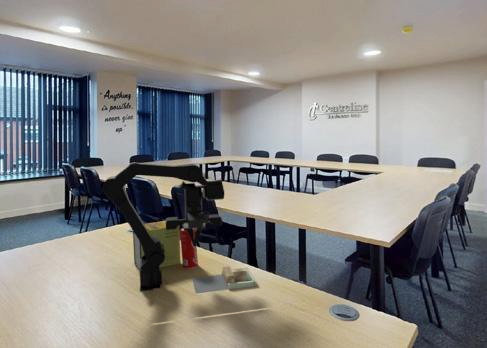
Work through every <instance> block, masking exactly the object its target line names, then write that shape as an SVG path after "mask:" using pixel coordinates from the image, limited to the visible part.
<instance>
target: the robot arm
mask: <svg viewBox="0 0 487 348" xmlns="http://www.w3.org/2000/svg"><path fill="white" fill-rule="evenodd" d="M136 176H146V177H147V176H148V177H161V178H173V179H178V180H181V181H182V182H181V183H180V184H179V185H178V186H177V187H178V188H179V190H184V216H185V217H184V218H183V219H179V218H178V216H171V217H170V216H169V217H166V218H165V221H166V229H168V230H169V229H176V228H177V227H178V225H179V226H182V228H183V229H184V230H185V231H187V232H188V233H189V235H190V238H191V241H192V243H193V246H196V245H197V244H198V241H199V238H200V237H199V236H200V235H201V234H202V231H203V230H205V229H206V224H210V225H212V226H213V227H219V226H220V227H221V226H223V217H222V216H221V215H220V214H218V213H217V214H214V213H213V214H210V212H209V211H203V199H204V198H205V200H206V201H220V200H221V201H222V200H224V199H225V190H224V189H225V188H224V183H223V180H222V179H216V180H207V179H206V178H205V176H203V170H202V168H201V167H200V166H199V165H196V164H194V163H185V164H179V165H167V164H166V165H165V164H154V163H143V162H142V163H141V162H140V163H139V162H137V161H136V162H131V163H130V164H128V166H127V167H126V168H124V169H123V170H121V171H120V172H119V173H118V174H116V175H115V176H110V177H108V178H106V179H105V181H104V183H103V184H102V187H101V189H102V192H103V193H104V195H105V196H106V197H107V198H108V200H109V201H111V202H112V204H114V205H115V206H116V207H117V208H118V209H119V211H120V213H121V214H122V216H123V217H124V219H125V220H126V222H127V223H128V225H129V227H130V229H131V230H132V232H133V231H134V233H135V235H136V236H137V238H138V239H139V241H140V243H141V245H142V248H143V251H144V255H143V256H142V257H141V258H140V269H139V291H148V290H149V291H150V290H154V289H160V288H161V285H163V279H162V278H163V273H162V268H160V264H162V263H163V261H164V259H165V254H164V252H165V248H164V245H163V244H162V243H161V242H160V240H159V237H158V236H157V237H156V238H154V237H152V236H151V235H150V233H149V232H148V230H147V228H146V227H145V225H144V224H145V223H144V222H143V219H141V217H140V216H139V213H138V212H137V210H136V209H135V207H134V206H133V204H132V203H131V200H130V199H129V196H128V193H127V189H126V187H125V186H126V185H127V184H128V183H130V182H131V180H133V179H134V178H135V177H136ZM186 182H187V183H186ZM188 182H189V183H188ZM196 183H198V184H200V185H196ZM202 197H203V198H202ZM193 228H194V230H195V236H194V235H193Z"/></svg>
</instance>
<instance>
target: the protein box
mask: <svg viewBox="0 0 487 348" xmlns="http://www.w3.org/2000/svg"><path fill="white" fill-rule="evenodd" d="M144 225H145V227H146V228H147V230H148V232H149V233H150V235H151V236H152V237H154V238H156V237H157V236H158V237H159V240H160V242H161V243H162V244H163V245H164V248H165V252H164V254H165V259H164V261H163V263H162V264H160V269H162V268H164V267H169V266H173V265H181V238H180V232H181V228H180V225H178V227H177V228H176V229H169V230H168V229H166V220H162V221H156V222H155V221H154V222H149V223H144ZM132 239H133V259H134V260H133V262H134V265H135V266H136V267H137V269H138V270H140V258H141V257H142V256H143V255H144V251H143V248H142V245H141V243H140V241H139V239H138V238H137V236H136V235H135V233H134V231H133V230H132Z"/></svg>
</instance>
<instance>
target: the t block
mask: <svg viewBox="0 0 487 348" xmlns="http://www.w3.org/2000/svg"><path fill="white" fill-rule="evenodd" d="M239 268H240V269H239ZM239 268H233V269H232V268H231V266H223V267H222V270H223V278H224V280H225V283H226V285H227V286H228V283H234V282H238V281H247V270H246V268H247V267H239Z"/></svg>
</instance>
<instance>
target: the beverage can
mask: <svg viewBox="0 0 487 348" xmlns="http://www.w3.org/2000/svg"><path fill="white" fill-rule="evenodd" d="M193 235H194V236H195V228H193ZM197 246H198V245H197V244H196V246H193V243H192V241H191V238H190V235H189V233H188V232H187V231H185V230H184V229H183V227H182V228H180V251H181V260H182V267H183V269H186V270H190V269H191V270H192V269H195V268H197V267H198V266H199V263H198V262H199V259H198V250H197V249H198V248H197Z"/></svg>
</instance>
